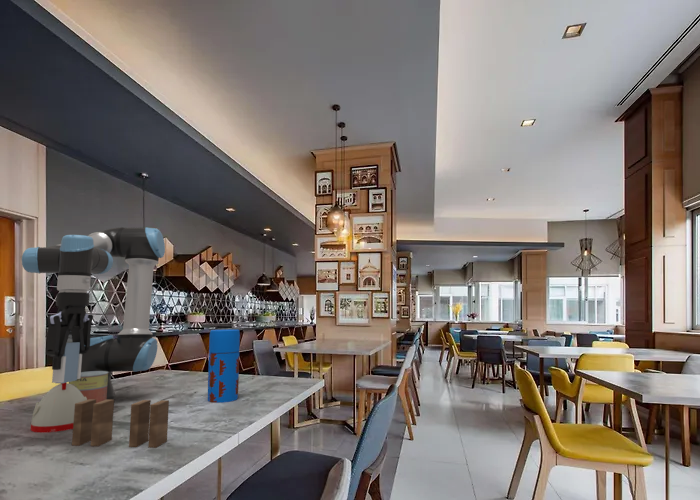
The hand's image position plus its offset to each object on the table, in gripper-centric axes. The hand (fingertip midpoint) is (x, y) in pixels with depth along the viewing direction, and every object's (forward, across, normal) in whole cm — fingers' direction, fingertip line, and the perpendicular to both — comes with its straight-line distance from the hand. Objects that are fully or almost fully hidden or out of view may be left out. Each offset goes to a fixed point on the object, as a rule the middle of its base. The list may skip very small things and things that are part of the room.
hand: (66, 380), depth 110 cm
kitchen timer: (+15, +12, +11) cm, 22 cm away
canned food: (+15, +29, +16) cm, 36 cm away
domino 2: (+15, -2, -7) cm, 17 cm away
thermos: (+15, +48, -23) cm, 56 cm away
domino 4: (+15, -2, -22) cm, 27 cm away
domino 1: (0, 0, 0) cm, 0 cm away
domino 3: (+15, -2, -12) cm, 19 cm away
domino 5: (+15, -2, -27) cm, 31 cm away
